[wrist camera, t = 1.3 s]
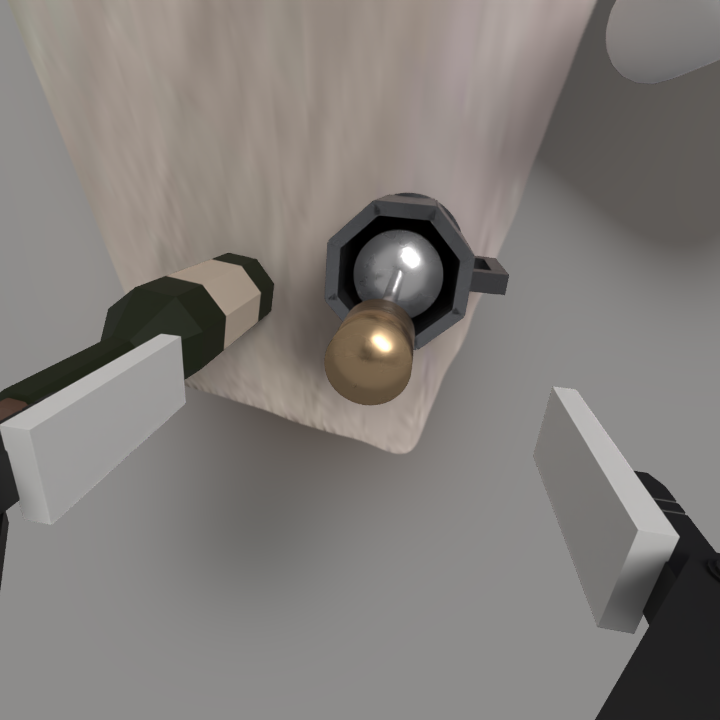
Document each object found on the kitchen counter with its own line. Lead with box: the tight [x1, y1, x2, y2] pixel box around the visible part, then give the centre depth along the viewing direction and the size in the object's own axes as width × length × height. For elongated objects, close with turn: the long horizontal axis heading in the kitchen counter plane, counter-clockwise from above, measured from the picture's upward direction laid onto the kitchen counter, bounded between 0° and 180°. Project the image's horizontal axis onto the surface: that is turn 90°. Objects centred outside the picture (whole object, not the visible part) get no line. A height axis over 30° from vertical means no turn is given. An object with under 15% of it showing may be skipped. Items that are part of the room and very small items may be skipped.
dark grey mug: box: [325, 193, 509, 350], centre depth 40 cm, size 12×14×13 cm
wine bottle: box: [0, 253, 274, 421], centre depth 36 cm, size 8×8×30 cm
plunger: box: [324, 229, 443, 405], centre depth 27 cm, size 7×7×19 cm
